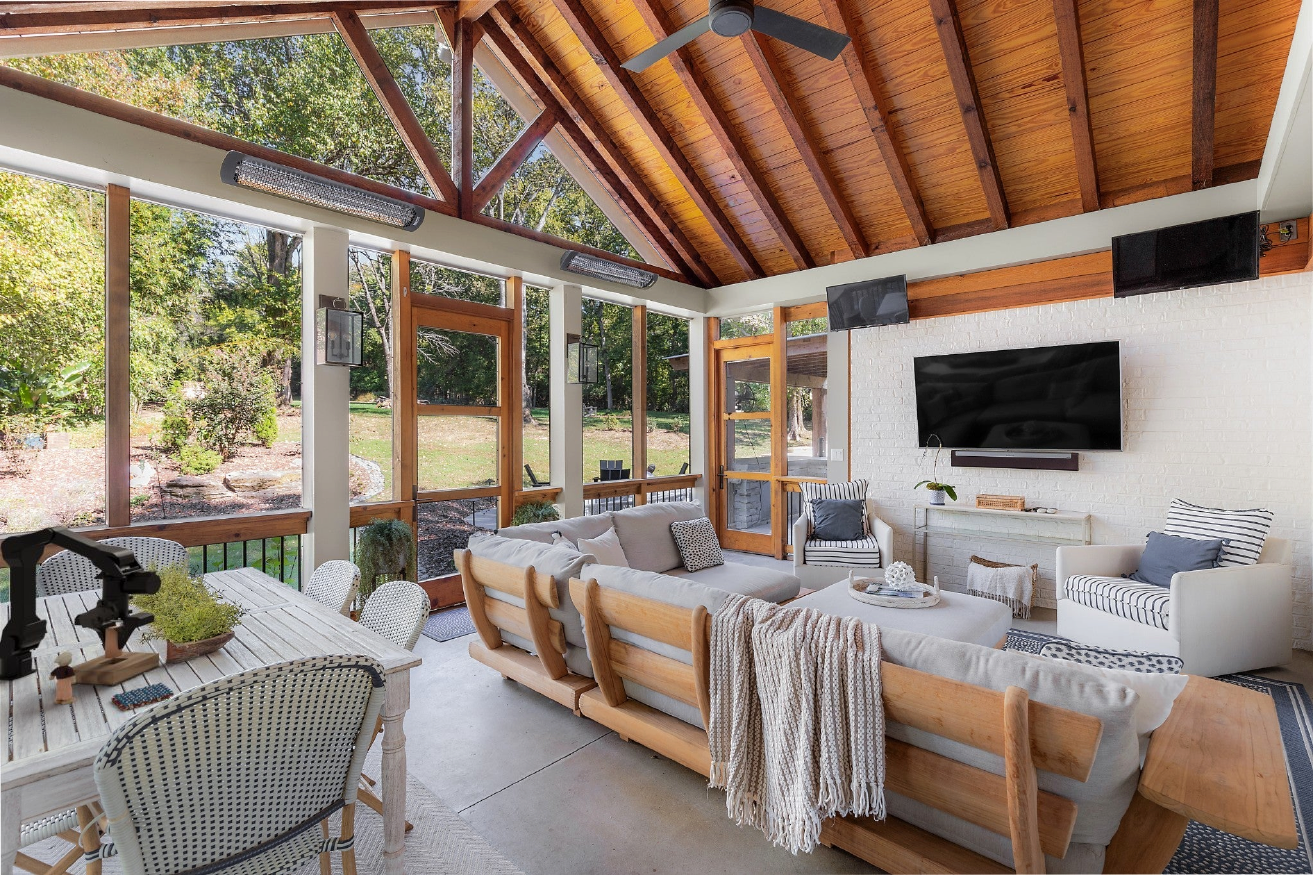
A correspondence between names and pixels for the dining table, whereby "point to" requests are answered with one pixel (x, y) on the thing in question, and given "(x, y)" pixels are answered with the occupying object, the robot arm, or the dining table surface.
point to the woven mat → (142, 696)
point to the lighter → (178, 654)
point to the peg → (112, 643)
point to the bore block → (114, 668)
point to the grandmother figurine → (63, 678)
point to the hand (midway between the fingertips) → (113, 648)
